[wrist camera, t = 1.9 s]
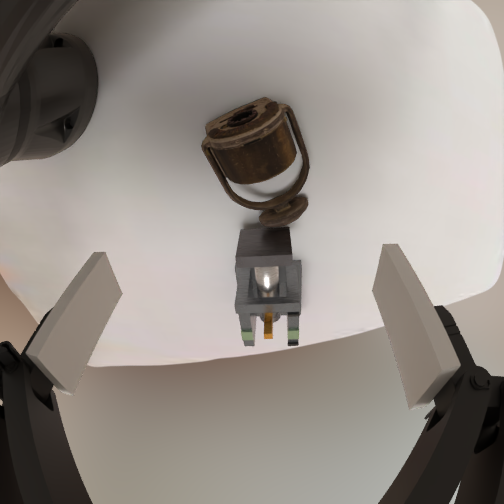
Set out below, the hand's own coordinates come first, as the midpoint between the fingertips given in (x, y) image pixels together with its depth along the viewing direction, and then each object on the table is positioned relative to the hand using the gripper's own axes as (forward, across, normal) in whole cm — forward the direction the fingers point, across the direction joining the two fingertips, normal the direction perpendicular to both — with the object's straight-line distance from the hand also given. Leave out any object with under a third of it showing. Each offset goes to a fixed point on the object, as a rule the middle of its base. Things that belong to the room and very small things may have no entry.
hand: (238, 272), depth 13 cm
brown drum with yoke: (+17, 0, 0) cm, 17 cm away
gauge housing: (+17, +1, -16) cm, 23 cm away
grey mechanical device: (+16, +1, -12) cm, 19 cm away
